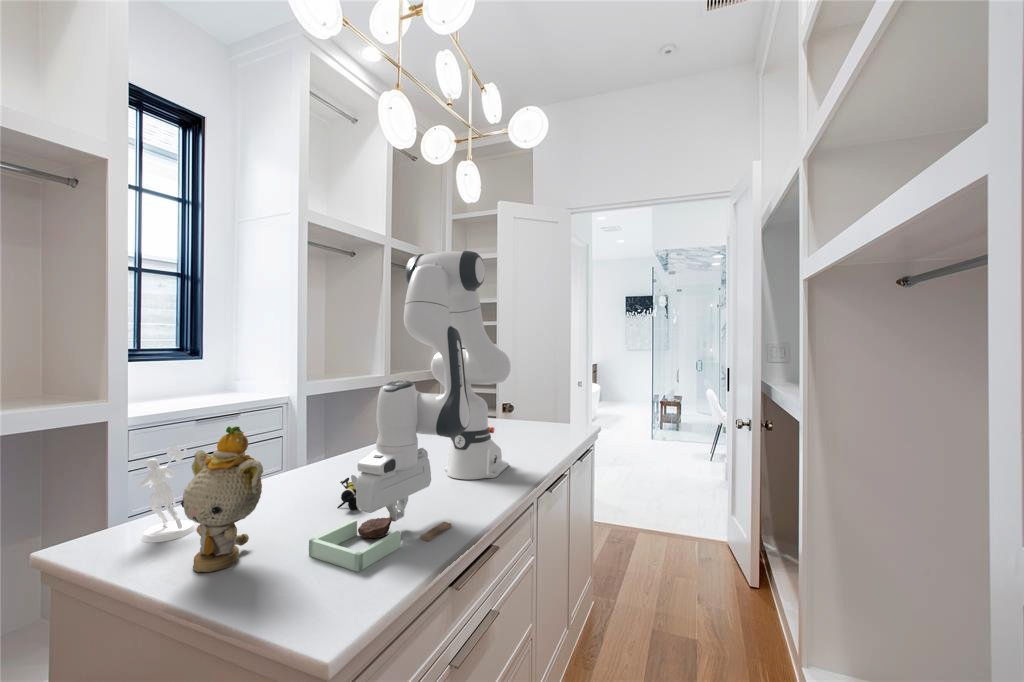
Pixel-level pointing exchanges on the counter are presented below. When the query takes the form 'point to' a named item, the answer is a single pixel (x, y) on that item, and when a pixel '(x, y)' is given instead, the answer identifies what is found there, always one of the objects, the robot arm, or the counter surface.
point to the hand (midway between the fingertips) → (396, 519)
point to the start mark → (435, 531)
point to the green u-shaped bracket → (348, 558)
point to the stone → (375, 527)
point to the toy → (349, 493)
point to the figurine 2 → (222, 499)
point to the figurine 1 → (164, 501)
